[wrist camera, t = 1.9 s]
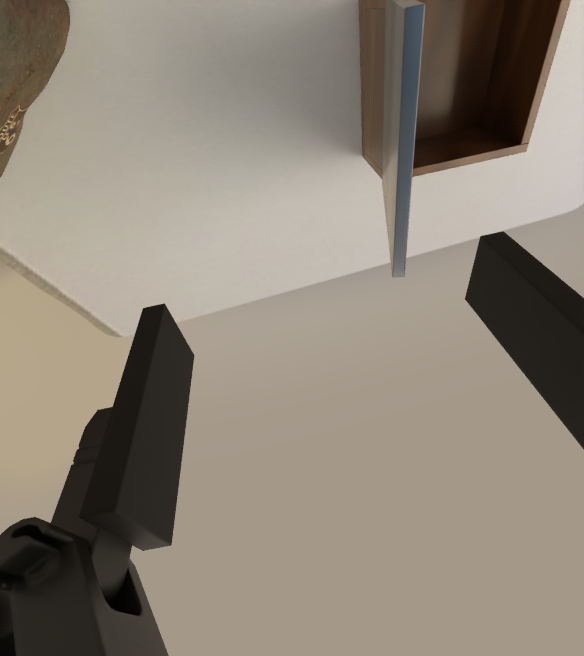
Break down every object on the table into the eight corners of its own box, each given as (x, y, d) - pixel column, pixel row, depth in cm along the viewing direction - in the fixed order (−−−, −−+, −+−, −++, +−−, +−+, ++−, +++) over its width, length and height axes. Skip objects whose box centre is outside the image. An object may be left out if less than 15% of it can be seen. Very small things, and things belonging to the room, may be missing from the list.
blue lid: (425, 3, 13) (404, 7, 14) (404, 277, 23) (392, 277, 23) (397, -8, 24) (385, -6, 24) (390, 184, 33) (382, 185, 33)
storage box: (516, -42, 30) (586, -54, 24) (482, 129, 39) (526, 151, 33) (358, -4, 30) (389, -7, 24) (362, 156, 40) (385, 183, 34)
